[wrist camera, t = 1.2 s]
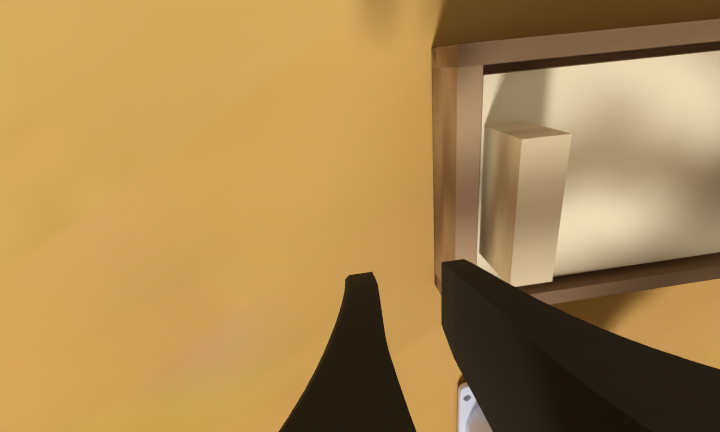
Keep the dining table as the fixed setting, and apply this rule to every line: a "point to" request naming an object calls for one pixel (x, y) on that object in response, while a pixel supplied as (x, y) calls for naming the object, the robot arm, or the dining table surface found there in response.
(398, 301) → the dining table surface
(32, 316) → the dining table surface
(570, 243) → the cover plate
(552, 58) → the brown shallow rimmed piece
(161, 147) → the dining table surface
